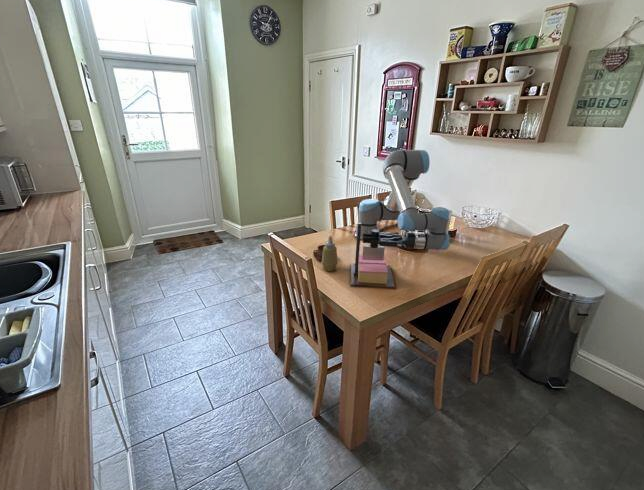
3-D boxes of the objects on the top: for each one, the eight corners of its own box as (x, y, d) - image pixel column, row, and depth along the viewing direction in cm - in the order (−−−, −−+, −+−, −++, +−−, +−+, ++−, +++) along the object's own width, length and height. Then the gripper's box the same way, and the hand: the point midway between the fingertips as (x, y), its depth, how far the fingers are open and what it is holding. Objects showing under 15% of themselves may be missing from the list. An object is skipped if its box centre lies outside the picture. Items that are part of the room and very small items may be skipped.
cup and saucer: (321, 264, 171) (322, 253, 168) (308, 256, 180) (308, 246, 177) (339, 259, 177) (340, 248, 175) (326, 251, 186) (326, 241, 184)
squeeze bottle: (330, 264, 172) (331, 231, 164) (340, 269, 166) (342, 236, 158) (318, 268, 167) (318, 235, 160) (327, 274, 161) (328, 240, 154)
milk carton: (445, 241, 203) (451, 212, 195) (434, 239, 206) (438, 210, 198) (447, 237, 209) (452, 209, 201) (435, 235, 212) (440, 207, 204)
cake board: (350, 265, 171) (353, 215, 160) (389, 267, 169) (395, 217, 158) (350, 286, 151) (354, 231, 140) (394, 288, 149) (401, 233, 138)
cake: (357, 265, 168) (358, 255, 166) (383, 267, 167) (384, 256, 165) (358, 282, 152) (359, 270, 150) (386, 283, 151) (388, 272, 149)
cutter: (362, 257, 159) (364, 228, 152) (383, 258, 158) (386, 229, 152) (362, 261, 155) (364, 231, 149) (383, 262, 155) (386, 232, 148)
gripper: (416, 255, 145) (363, 252, 146) (409, 241, 160) (361, 239, 162) (418, 239, 142) (364, 237, 143) (411, 226, 157) (362, 224, 159)
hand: (363, 238), depth 152 cm, fingers closed on cutter, 4 cm apart
